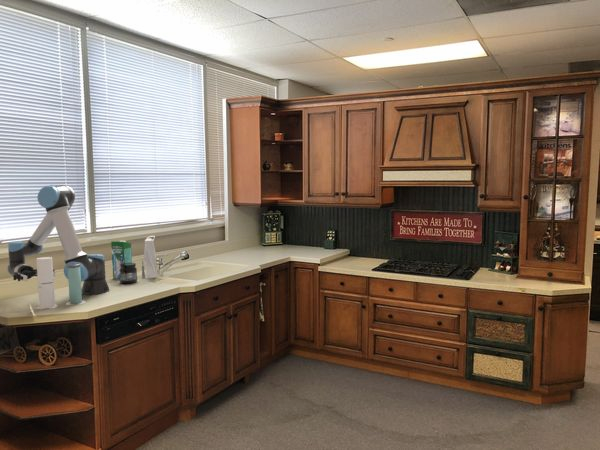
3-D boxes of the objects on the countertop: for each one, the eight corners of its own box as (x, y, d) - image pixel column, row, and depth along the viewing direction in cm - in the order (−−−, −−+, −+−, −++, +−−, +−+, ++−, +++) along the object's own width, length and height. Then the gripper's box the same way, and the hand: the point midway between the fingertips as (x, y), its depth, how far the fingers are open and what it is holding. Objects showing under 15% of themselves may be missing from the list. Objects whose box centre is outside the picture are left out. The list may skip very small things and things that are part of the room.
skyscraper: (152, 276, 334) (150, 235, 331) (159, 277, 328) (157, 236, 326) (141, 278, 327) (139, 236, 324) (148, 279, 322) (146, 237, 319)
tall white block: (51, 308, 247) (48, 259, 245) (36, 308, 247) (33, 259, 244) (57, 304, 254) (54, 256, 252) (43, 305, 254) (40, 257, 251)
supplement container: (128, 280, 320) (127, 262, 319) (141, 281, 316) (140, 263, 315) (116, 283, 311) (115, 264, 309) (129, 284, 306) (128, 265, 305)
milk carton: (132, 276, 333) (130, 239, 330) (125, 278, 324) (123, 241, 322) (120, 275, 335) (119, 239, 332) (113, 278, 326) (111, 241, 324)
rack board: (84, 301, 265) (84, 298, 265) (88, 306, 255) (88, 303, 255) (35, 308, 253) (35, 305, 252) (37, 313, 243) (37, 310, 243)
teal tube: (81, 300, 262) (79, 263, 260) (83, 302, 257) (81, 265, 255) (68, 302, 259) (66, 264, 257) (70, 304, 253) (67, 266, 251)
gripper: (48, 274, 276) (65, 279, 262) (-1, 282, 257) (14, 288, 243) (47, 261, 275) (64, 265, 261) (-2, 268, 256) (13, 273, 243)
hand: (40, 276), depth 252 cm, fingers open, 13 cm apart
